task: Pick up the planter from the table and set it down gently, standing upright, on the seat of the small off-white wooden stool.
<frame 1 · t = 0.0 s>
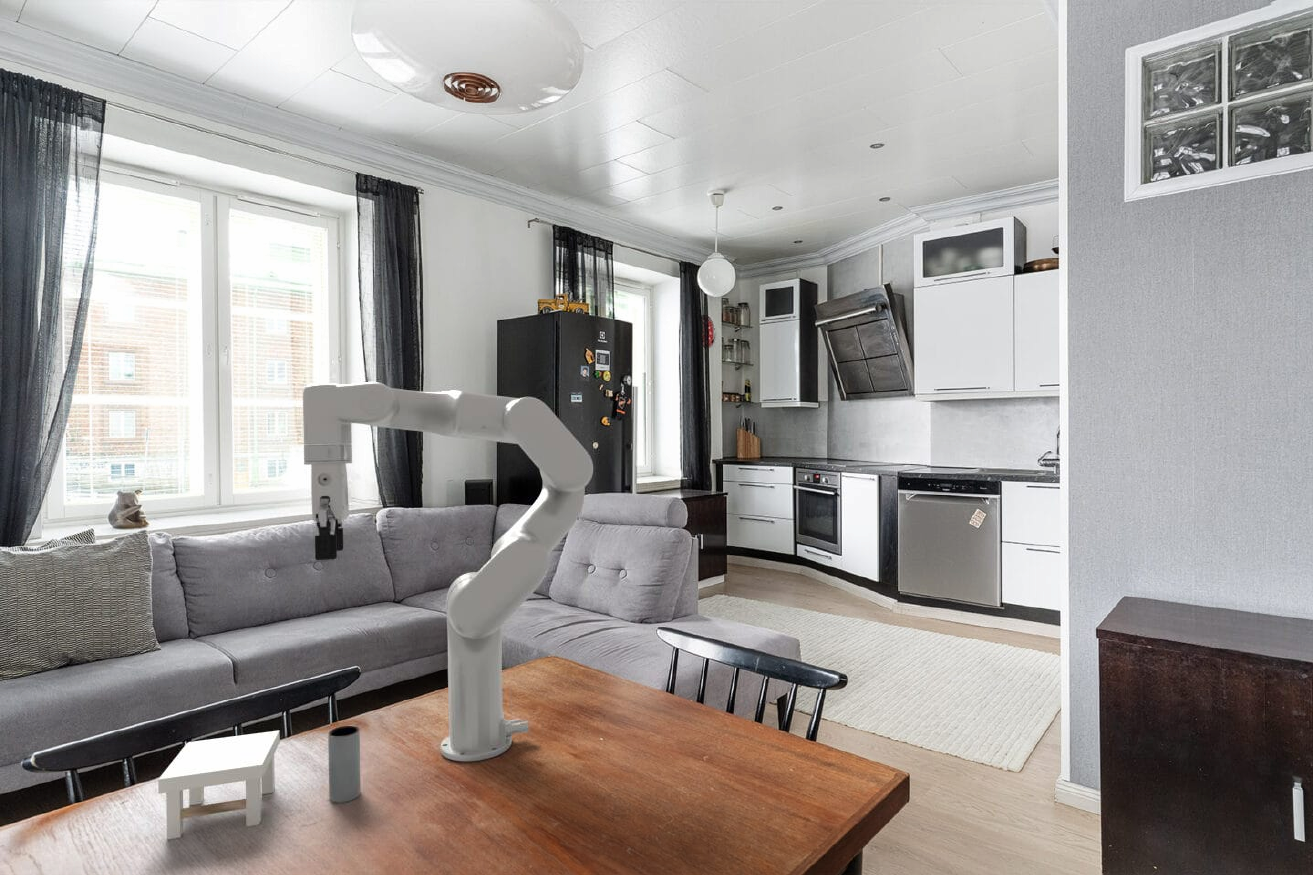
hand: (329, 554, 122), 37 cm above the table, tool pointing down, fingers open, 9 cm apart
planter: (345, 796, 112), on the table
stool: (224, 811, 108), on the table
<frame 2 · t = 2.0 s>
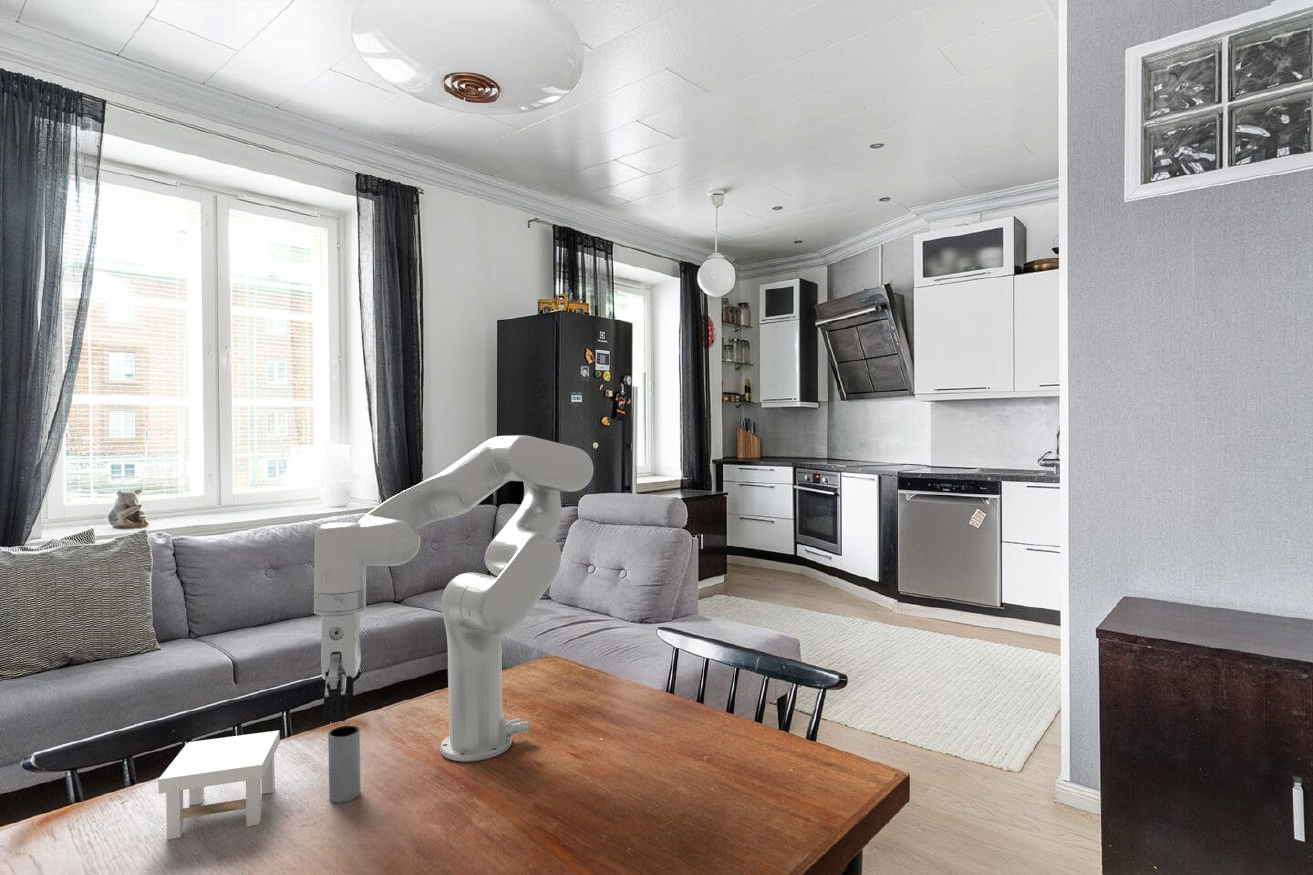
hand: (339, 710, 112), 14 cm above the table, tool pointing down, fingers open, 9 cm apart
nothing on the table moved.
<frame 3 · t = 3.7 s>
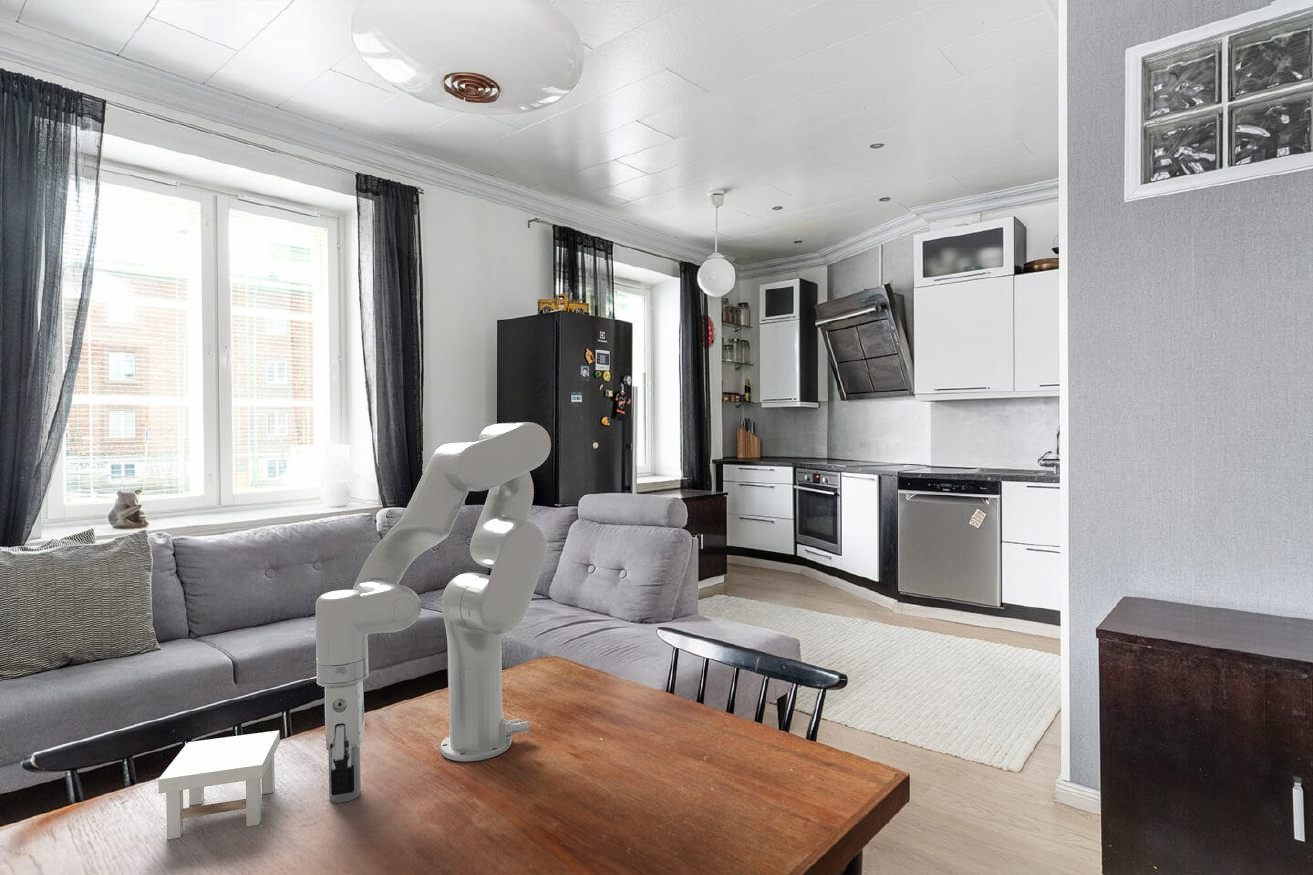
hand: (344, 783, 112), 2 cm above the table, tool pointing down, fingers closed on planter, 4 cm apart
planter: (345, 796, 112), on the table, touching gripper
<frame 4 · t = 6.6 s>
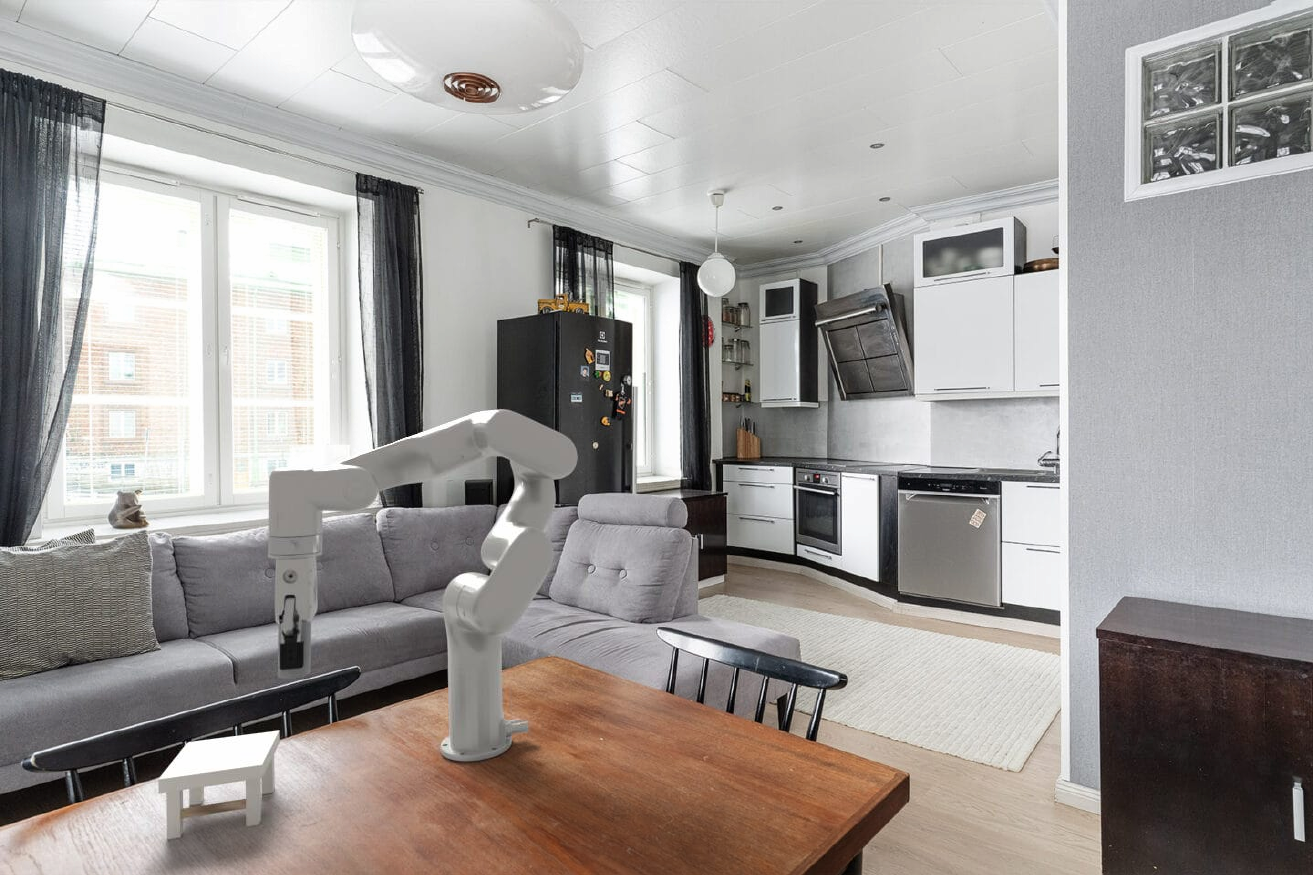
hand: (294, 662, 110), 22 cm above the table, tool pointing down, fingers closed on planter, 4 cm apart
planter: (294, 675, 110), point 20 cm above the table, touching gripper
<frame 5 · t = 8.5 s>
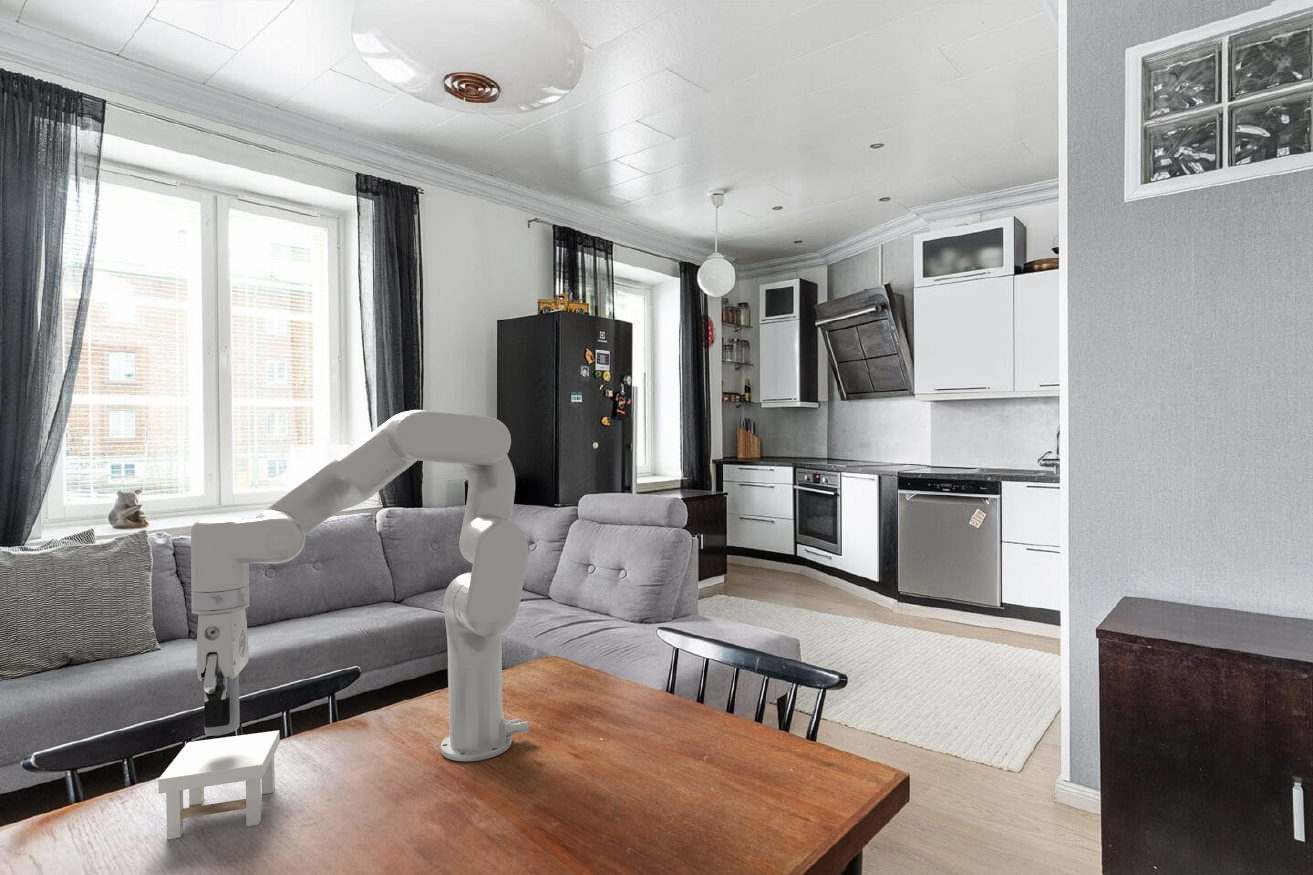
hand: (222, 717, 108), 14 cm above the table, tool pointing down, fingers closed on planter, 4 cm apart
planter: (222, 731, 108), point 12 cm above the table, touching gripper
when the fingers open (12 cm above the table, at t = 9.7 s): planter drops 1 cm, resting on stool.
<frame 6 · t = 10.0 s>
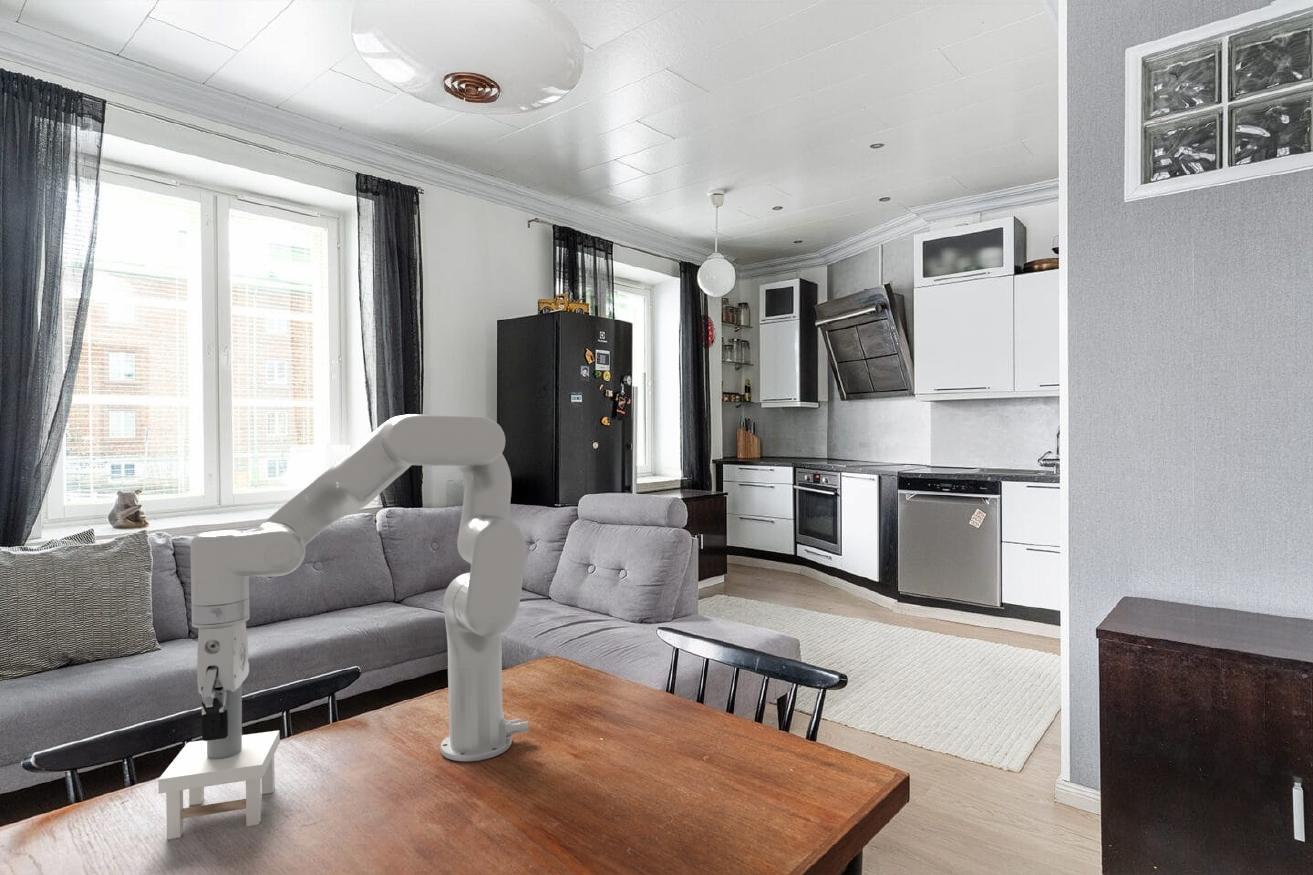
hand: (223, 727, 108), 13 cm above the table, tool pointing down, fingers open, 7 cm apart
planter: (224, 753, 108), point 9 cm above the table, touching stool
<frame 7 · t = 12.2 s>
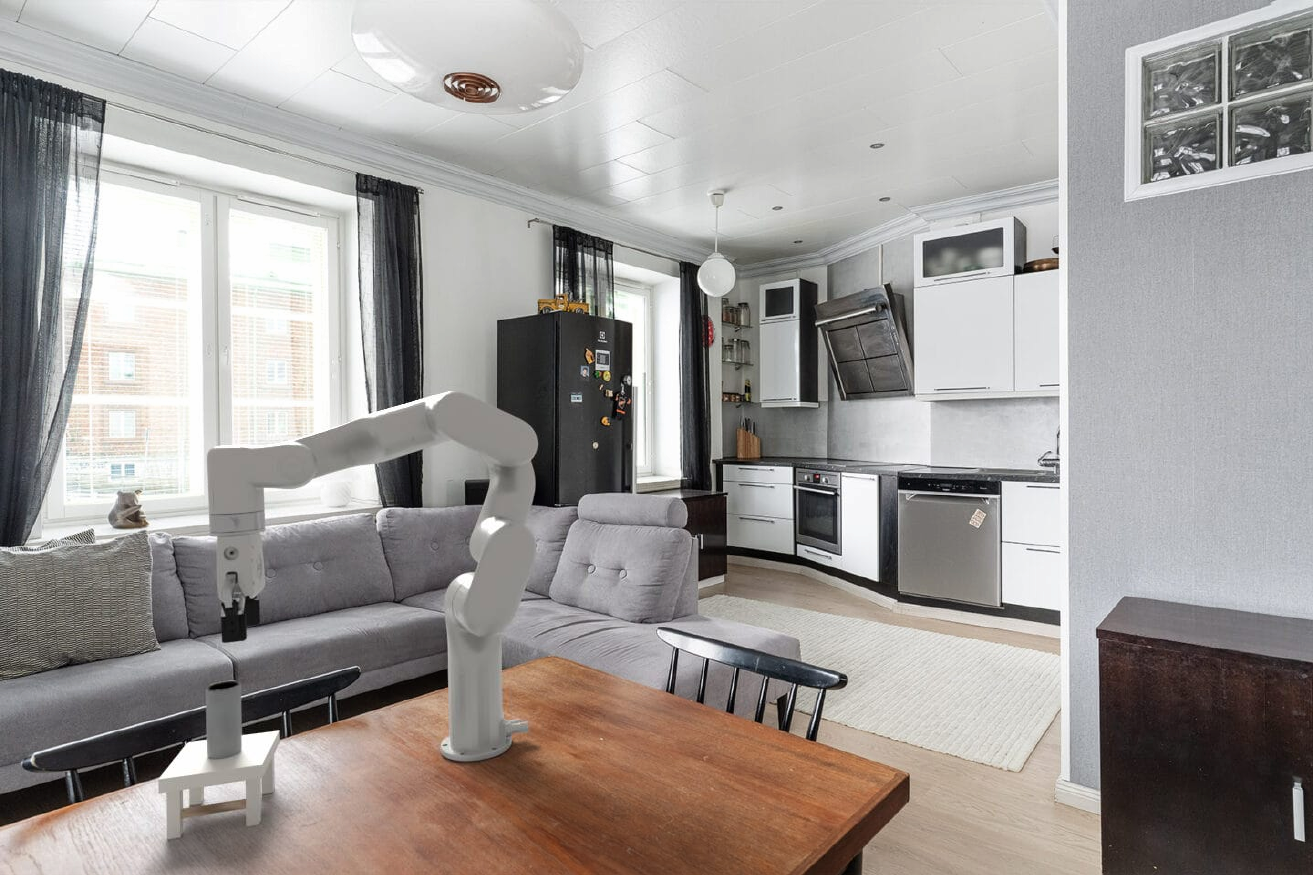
hand: (242, 632, 111), 26 cm above the table, tool pointing down, fingers open, 9 cm apart
nothing on the table moved.
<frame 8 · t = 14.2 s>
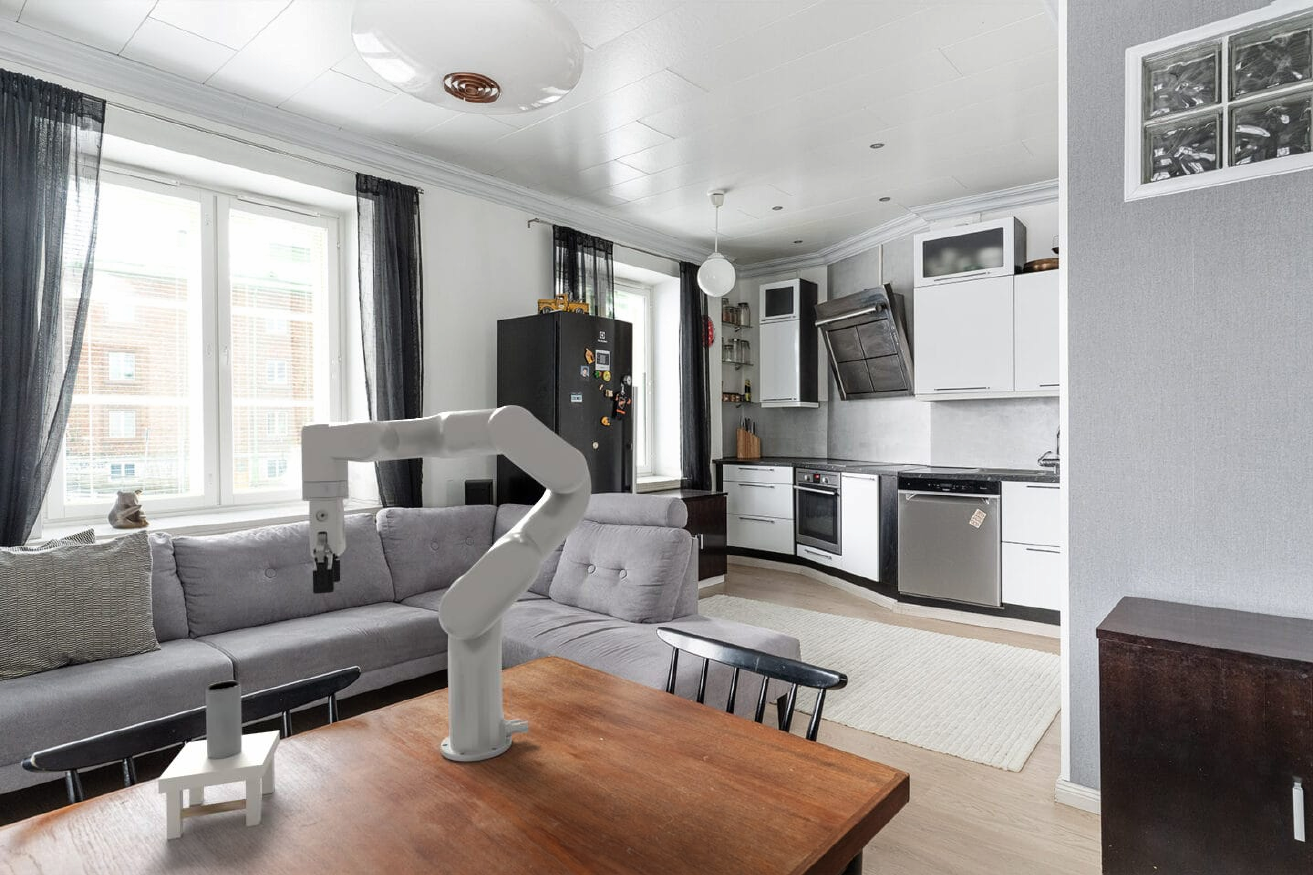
hand: (327, 587, 126), 30 cm above the table, tool pointing down, fingers open, 9 cm apart
nothing on the table moved.
at the end: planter inside the target area on the stool (0.2 cm from its centre), point 8.8 cm above the stool's base; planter tilted 0°; the gripper is holding nothing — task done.
